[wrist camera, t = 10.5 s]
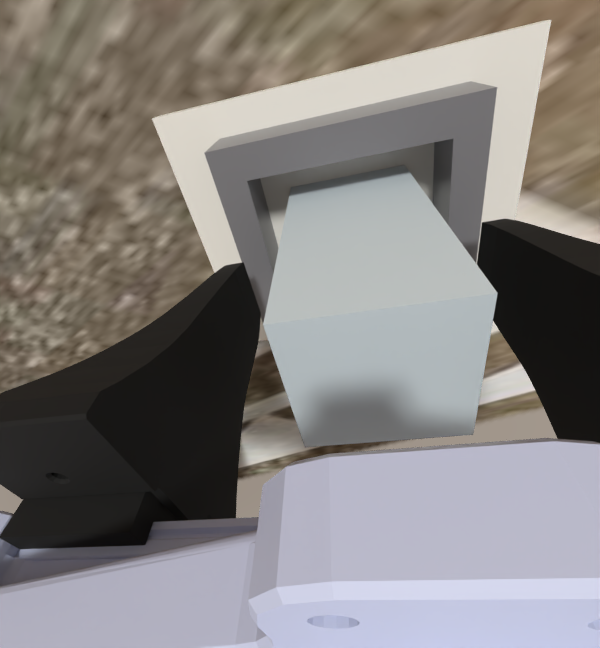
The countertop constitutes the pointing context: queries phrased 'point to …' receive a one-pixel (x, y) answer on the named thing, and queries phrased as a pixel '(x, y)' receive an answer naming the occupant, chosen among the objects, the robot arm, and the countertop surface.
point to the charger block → (376, 313)
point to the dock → (362, 143)
